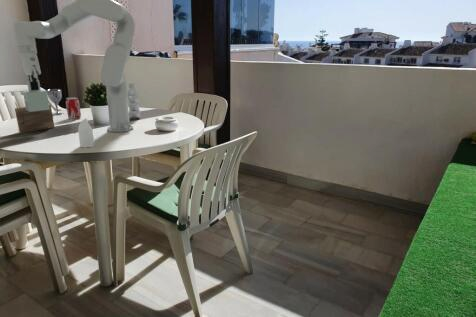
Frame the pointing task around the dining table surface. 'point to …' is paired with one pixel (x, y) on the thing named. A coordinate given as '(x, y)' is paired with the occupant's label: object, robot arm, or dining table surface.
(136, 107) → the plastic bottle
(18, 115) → the brown boxy piece
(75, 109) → the soda can
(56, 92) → the wine glass
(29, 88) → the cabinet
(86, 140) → the white pointed crystal
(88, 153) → the dining table surface
